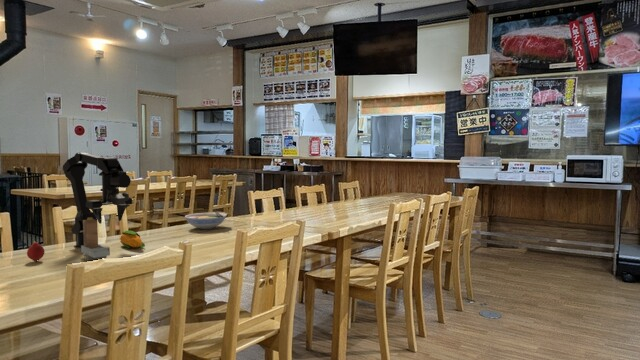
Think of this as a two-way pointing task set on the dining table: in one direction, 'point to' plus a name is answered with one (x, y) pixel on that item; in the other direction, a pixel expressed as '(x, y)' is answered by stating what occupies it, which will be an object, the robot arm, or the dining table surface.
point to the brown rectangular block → (90, 233)
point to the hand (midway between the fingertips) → (110, 222)
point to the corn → (131, 239)
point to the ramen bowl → (205, 220)
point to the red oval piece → (35, 251)
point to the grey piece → (95, 252)
